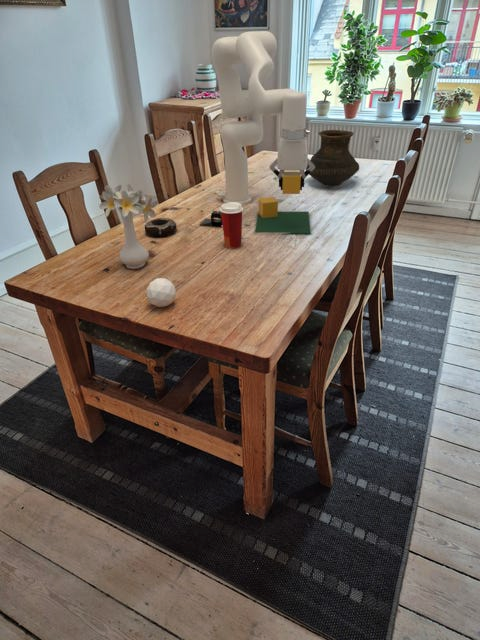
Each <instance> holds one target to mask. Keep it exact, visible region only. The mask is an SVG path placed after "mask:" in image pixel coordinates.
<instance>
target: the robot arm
mask: <svg viewBox="0 0 480 640" xmlns="http://www.w3.org/2000/svg"><path fill="white" fill-rule="evenodd" d="M277 50H278V42H277V39H276V37H275V35H274V34H273V33H272V32H271V31H268V30H256V31H255V30H254V31H253V30H252V31H245V32H242V33H240V35H238V36H233V35H232V36H224V37H220V38H218V39H216V40H215V41H214V42H213V45H212V48H211V61H212V65H213V69H214V71H215V74H216V78H217V82H218V91H219V100H220V107H221V112H222V115H223V116H224V117H225V118H226V119H236V118H237V119H238V118H246V120H237V121H231V122H227V123H226V124H224V125H223V126H222V127H221V129H220V139H221V143H222V149H223V155H224V156H223V157H224V174H225V177H224V178H225V189H223V190H216V191H215V195H216V196H217V197H219V198H222V202H223V204H225V203H229V202H235V203H240V204H241V205H244V204H247V203H250V202H252V201H253V196H252V195H250V194H249V166H248V165H249V163H248V156H247V154H246V153H245V151H244V150H243V147H248V146H249V147H250V146H255V145H258V144H260V143H261V142H262V141H263V138H264V123H263V117H272V116H279V115H282V116H281V120H282V121H281V137H279V140H278V145H277V156H276V157H277V158H275V160H274V161H273V162H272V163H271V164H270V165H269V170H270V171H271V172H273V174H274V175H275V176H276V177H277V178H278V188H280V191H282V190H283V173H284V171H300V173H301V182H300V191H302V190H303V188H305V179H306V177H308V176H309V174H310V172H311V171H313V170H314V169H315V165H314V164H313V163H312V162H311V161H310V159H309V145H308V144H309V143H308V138H307V137H306V136H310V133H311V132H310V129H309V130H308V129H307V128H306V123H307V104H308V103H307V102H308V96H307V94H306V93H305V92H303V91H298V90H295V89H293V88H276V89H268V90H267V89H265V88H264V87H263V86H262V84H263V83H264V82H266V81H267V80H269V78H270V77H271V76H272V75H273V73H274V69H275V63H274V61H273V60H272V59H273V58H274V57H275V55H276V54H277ZM234 64H236V65H237V64H243V65H244V67H245V69H246V70H247V73H248V74H249V75H250V77H249V79H248V86H247V87H248V88H247V89H242V83H241V76H240V74H239V72H238V71H237V69H236V68H235V67H234V66H233V65H234ZM307 164H308V165H309V166H310V168H309V169H307V170H306V168H307ZM276 166H277V168H276Z"/></svg>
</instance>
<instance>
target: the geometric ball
mask: <svg viewBox="0 0 480 640" xmlns="http://www.w3.org/2000/svg"><path fill="white" fill-rule="evenodd" d="M176 291H177V290H176V287H175V286H174V283H173V282H172V281H171V280H169V279H167V278H165V277H157V278H155V279H153V280H152V281H150V282H149V284H148V285H147V288H146V297H147V299H148V301H149V302H150V304H151V305H153V306H155V307H158V308H163V307H167V306H169V305H171V304H172V303H173V302H174V300H175V298H176V295H177V294H176V293H177V292H176Z"/></svg>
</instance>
